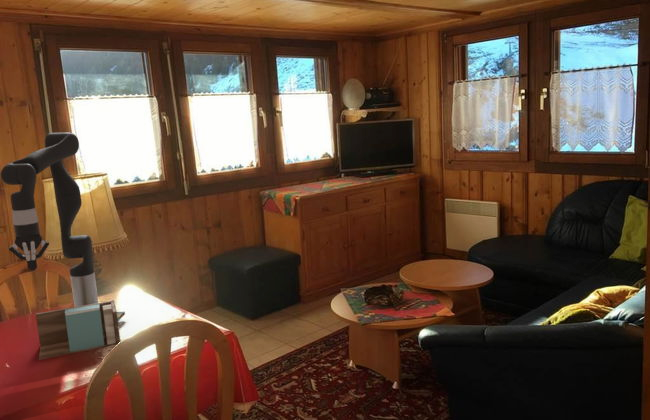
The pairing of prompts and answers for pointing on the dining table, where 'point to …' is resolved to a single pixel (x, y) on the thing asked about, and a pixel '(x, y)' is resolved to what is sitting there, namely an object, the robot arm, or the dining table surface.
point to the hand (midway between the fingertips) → (32, 270)
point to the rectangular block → (84, 327)
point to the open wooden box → (56, 333)
